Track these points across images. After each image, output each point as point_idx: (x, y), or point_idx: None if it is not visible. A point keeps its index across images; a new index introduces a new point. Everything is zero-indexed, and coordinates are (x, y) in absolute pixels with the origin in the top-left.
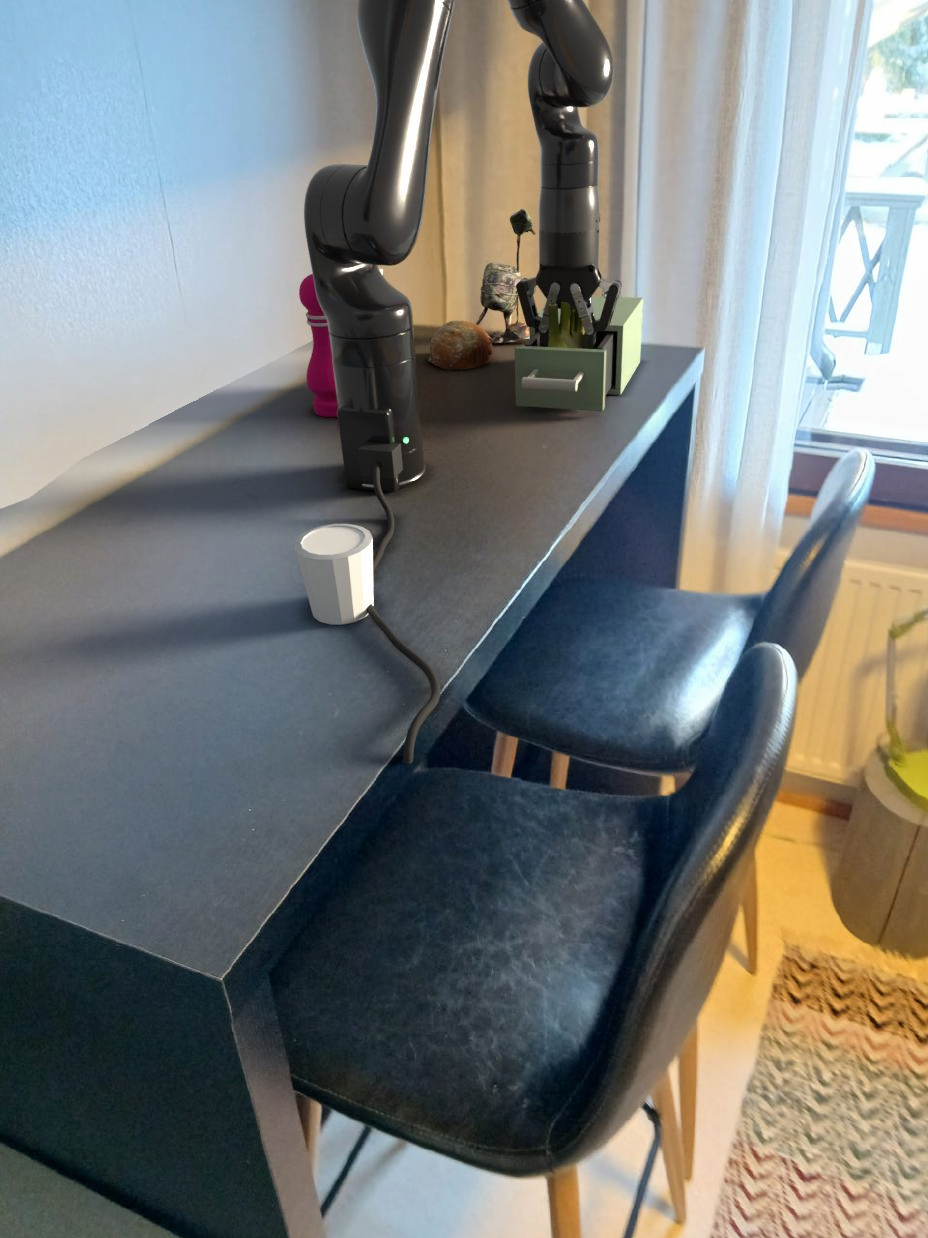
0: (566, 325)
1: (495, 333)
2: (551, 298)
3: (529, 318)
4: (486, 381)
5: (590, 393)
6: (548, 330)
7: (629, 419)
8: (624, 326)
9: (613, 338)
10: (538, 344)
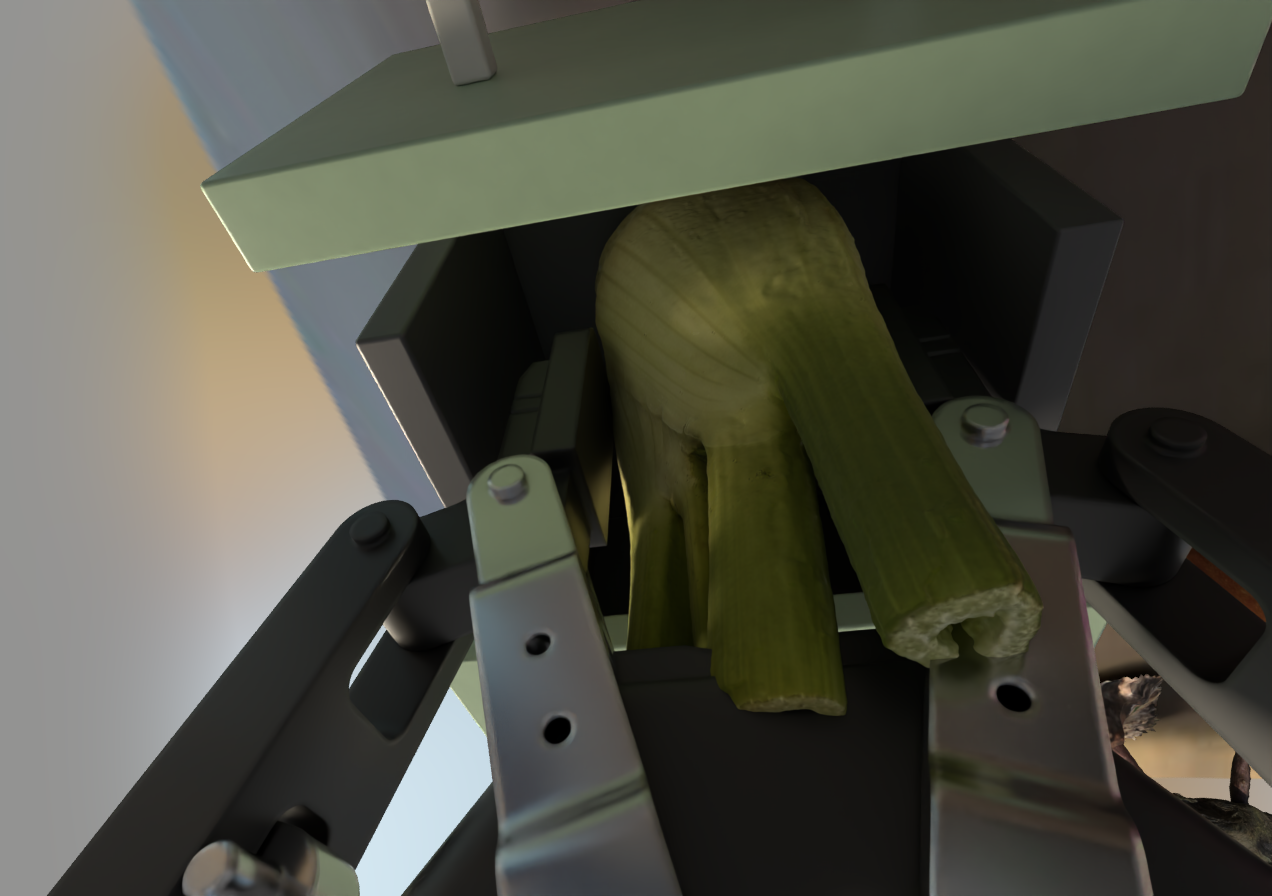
0: (731, 479)
1: (1146, 724)
2: (1027, 732)
3: (1214, 474)
4: (1183, 363)
5: (439, 61)
6: None
7: (267, 91)
8: None
9: None
10: None
